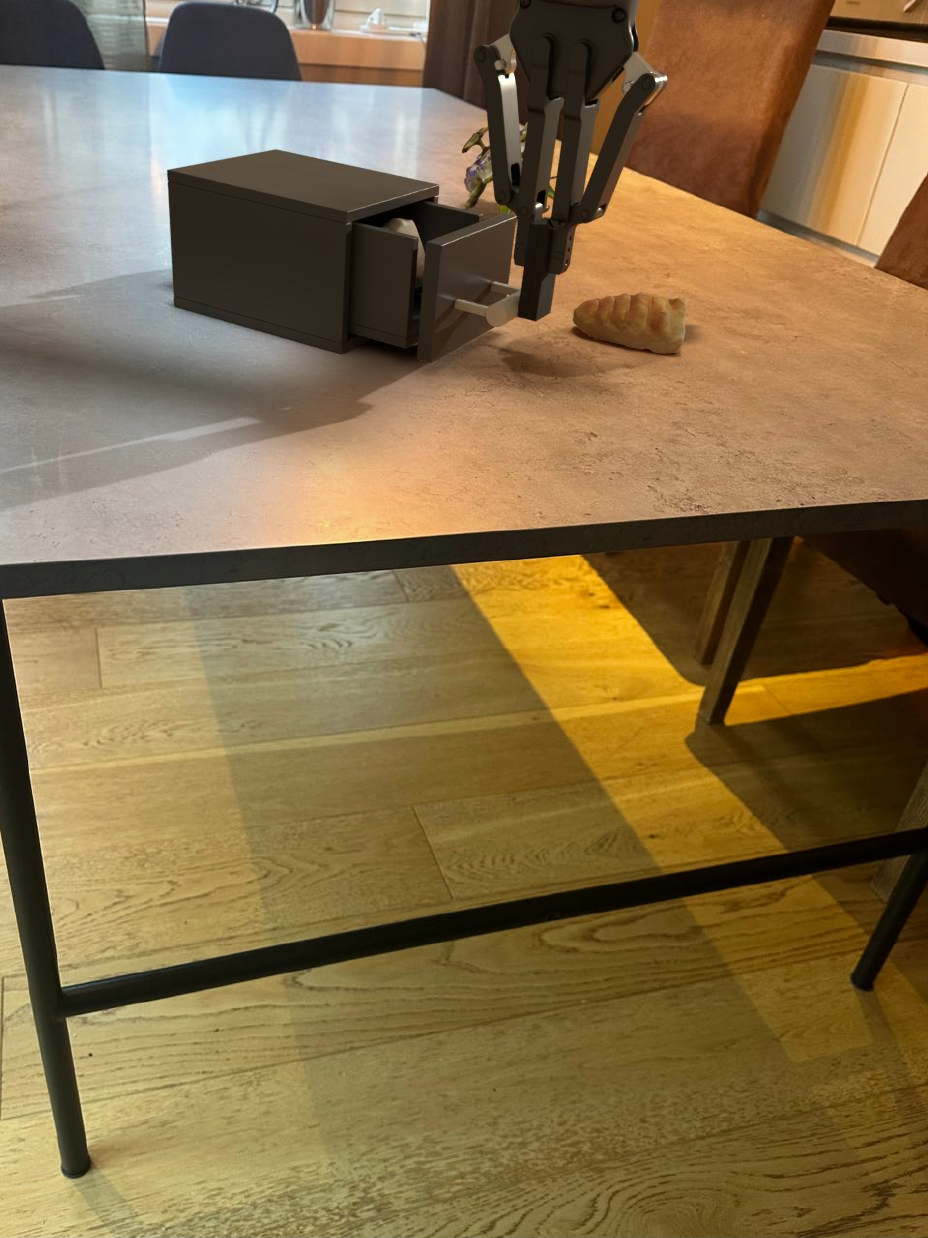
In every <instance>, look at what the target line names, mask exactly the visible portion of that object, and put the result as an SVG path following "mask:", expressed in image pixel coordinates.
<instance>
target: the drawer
mask: <svg viewBox="0 0 928 1238" xmlns="http://www.w3.org/2000/svg"><path fill="white" fill-rule="evenodd" d="M392 218H401V219H405V220H412V221H413V222H414V224H415V226H416V229H417V231H418V234H419V237H420V240H421V243H422V246H423V249H424V252H425V261H424V274H423V286H421V287H418V288H416V289H415V282H416V269H417V255H418V242H419V237H417V236H412V235H408V234H404V233H400V232H395V231H391V230H387V229H383V228H380V227H383V226H384V224H385V223H387V222H388V221H389V220H390V219H392ZM483 219H484V213H482V212H478V211H473V210H470V209H465V208H460V207H455V206H450V205H447V204H441V203H439V202H438V203H434V202H429V201H425V200H421V201H417V202H414V203H411V204H408V205H404V206H401V207H398V208H395V209H392V210H388V211H385V212H382V213H379V214H375V215H372V216H369V217H366V218H362V219H359V220H356V221H353V222H352V237H351V262H350V287H349V312H348V333H352V334H355V335H359V336H362V337H366V338H370V339H371V340H373V341H378V342H380V343H385V344H386V345H387V344H388V345H391V346H395V347H398V348H403V349H407V348H409V347H412V346H413V345H415V344H417V349H416V350H417V353H416V360H417V361H420V362H423V363H427V364H432V363H434V362H436V361H438V360H440V359H441V358H443V357H445V356H447V355H448V354H450V353H453V352H455V350H457V349H459V348H461V347H463V346H464V345H466V344H468V343H470V342H471V341H473V340H476V339H477V338H478V337H481V336H482V335H484V334H486V333H487V332H489V331H491V330H493V329H494V328H500V327H502V326H504V325H506V324H508V323H509V322H512V321H513V320H514V319H517V318H518V317H517V315H518V307H519V299H520V292H521V287H519V286H514V285H510V284H509V282H510V274H511V265H512V259H513V251H514V249H513V248H514V243H515V242H514V241H515V235H516V227H517V216H516V215H513V214H512V215H510V214H505V213H503V214H500V213H499V214H497V215H495V216H493V217H490V218H486V219H484V220H483Z"/></svg>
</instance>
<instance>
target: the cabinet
mask: <svg viewBox="0 0 928 1238" xmlns="http://www.w3.org/2000/svg"><path fill="white" fill-rule="evenodd" d="M166 175H167V176H166V177H167V179H166V180H167V195H168V214H169V215H168V216H169V233H170V235H169V236H170V252H171V254H170V255H171V256H170V257H171V270H172V271H171V273H172V290H173V291H172V292H173V293H172V294H173V307H177V308H181V309H185V310H188V311H192V312H194V313H198V314H202V315H205V316H208V317H211V318H214V319H218V320H222V321H226V322H229V323H233V324H235V325H240V326H243V327H247V328H249V329H254V330H257V331H261V332H264V333H268V334H271V335H275V336H278V337H281V338H285V339H288V340H292V341H295V342H299V343H302V344H306V345H310V346H313V347H316V348H319V349H323V350H326V351H330V352H334V353H337V354H344V353H346V352H348V351H350V350H352V349H354V348H356V347H358V346H361V345H363V344H365V343H367V342H369V341H371V340H372V339H370V338H366V337H362V336H359V335H355V334H352V333H348V312H349V287H350V262H351V237H352V222H353V221H356V220H359V219H362V218H366V217H369V216H372V215H375V214H379V213H382V212H385V211H388V210H392V209H395V208H398V207H401V206H404V205H408V204H411V203H414V202H417V201H421V200H425V201H429V202H434V203H438V204H439V197H440V196H439V194H440V186H441V185H440V184H439V183H434V182H431V181H429V182H428V181H424V180H420V179H416V178H411V177H407V176H403V175H397V174H392V173H387V172H383V171H378V170H373V169H371V168H365V167H361V166H355V165H351V164H347V163H341V162H337V161H332V160H328V159H323V158H318V157H314V156H309V155H305V154H301V153H300V154H299V153H296V152H291V151H285V150H281V149H277V148H275V149H274V148H273V149H269V150H264V151H259V152H254V153H249V154H242V155H239V156H233V157H227V158H221V159H217V160H211V161H206V162H201V163H195V164H190V165H185V166H180V167H175V168H170V169H167V170H166Z"/></svg>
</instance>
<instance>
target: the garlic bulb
mask: <svg viewBox="0 0 928 1238" xmlns="http://www.w3.org/2000/svg"><path fill="white" fill-rule="evenodd" d="M380 228H383V229H387V230H391V231H395V232H400V233H404V234H408V235H412V236H417V237H419V234H418V231H417V229H416V226H415V224H414V222H413V221H412V220H405V219H401V218H392V219H390V220H389V221H388V222H387V223H385V224H384V226H383V227H380ZM424 261H425V252H424V249H423V246H422V243H421V240H420V237H419V242H418V255H417V269H416V282H415V289H416V288H418V287H421V286H423V274H424Z"/></svg>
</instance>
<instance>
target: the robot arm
mask: <svg viewBox="0 0 928 1238" xmlns="http://www.w3.org/2000/svg"><path fill="white" fill-rule="evenodd" d="M639 5H640V0H519V3H518V6H517V9H516V11H515V14H514V15H513V17H512V18H511V21H510V22H509V26H508V33H506V34H505V35H503V36H501V37H500V38H498V39H497V40H495V41H494V42H492V43H490V44H482V45H478V46H477V47H475V49H474V50H473V54H472V55H473V56H472V57H473V61H474V64H475V67H476V69H477V71H478V74H479V76H480V79H481V81H482V85H483V87H484V96H485V97H484V98H485V108H486V120H487V126H488V131H487V132H488V143H489V145H490V155H491V166H492V177H493V181H492V186H493V187H492V188H493V197H494V201H495V203H497V204H498V206H500V205H505V206H506V207H508V208H509V209H511V210H512V211H513V214H515V216H517V218H516V220H517V223H516V231H515V239H514V241H515V242H514V249H513V255H512V259H513V263H514V265H515V266H519V267H522V268H523V270H522V278H521V285H520V288H521V292H520V299H519V307H518V315H517V317H516V318H520V319H523V320H528V321H532V322H538V321H539V320H541V319H543V318H544V317H546V316H548V315H550V314H551V312H552V306H553V298H554V292H555V285H556V278H557V276H560V275H563V274H564V273H566V272H567V271H568V269H569V267H570V266H571V261H572V253H573V248H574V242H575V234H576V230H577V227H578V226H579V225H585V224H589V223H591V222H594V221H596V220H599V219H600V218H603V216H604V215H605V214H606V211H607V210H608V207H609V204H610V202H611V200H612V197H613V194H614V192H615V190H616V187H617V185H618V182H619V180H620V177H621V175H622V173H623V170H624V168H625V165H626V163H627V161H628V157H629V155H630V154H631V153H630V152H631V150H632V148H633V145H634V143H635V140H636V138H637V136H638V133H639V130H640V128H641V126H642V123H643V121H644V118H645V116H646V113H647V111H648V110H649V108H650V107H651V106H652V105H653V103H654V102H655V101H656V100H657V99H658V98H659V96H660V95H661V94H662V93H663V92H664V90H665V89H666V87H667V85H668V76H667V74H666V73H665V72H663V71H661V70H654V68H653V67H652V66H651V65H650V64H649V63H648V62H647V60H646V59H645V58H644V57H643V56H642V55H641V54H640V52H639V49H640V37H639V35H638V31H637V22H636V21H637V14H638V10H639ZM517 60H518V62H519V64H520V67H521V69H522V71H523V74H524V76H525V78H526V81H527V83H528V93H527V100H526V108H527V111H528V117H527V122H528V123H527V122H526V123H527V131H526V139H525V147H524V155H523V163H522V154H521V141H520V131H521V129H520V118H519V117H520V116H519V102H518V91H517V83H516V77H515V71H516V69H517V65H518V63H517ZM623 72H624V73H625V74H624V78H623V81H622V83H621V92H622V94H623V97H622V98H621V100H620V102H619V104H618V105H617V107H616V109H615V112H614V115H613V117H612V120H611V122H610V124H609V127H608V130H607V133H606V135H605V137H604V141H603V142H602V145H601V148H600V150H599V152H598V153H599V154H598V156H597V158H596V160H595V163H594V166H593V169H592V171H591V174H590V176H589V178H588V181H587V184H586V180H587V173H588V166H589V160H590V153H591V148H592V142H593V137H594V136H593V135H594V130H595V129H594V128H595V121H596V118H597V116H598V114H599V112H600V106H601V100H602V96H603V95H604V94H605V93H606V92H607V91H608V90H609V88H610V87H612V85H613V84H614V83H615V81H616V80H617V79H618V78H619V77H620V75H621V74H623ZM561 111H562V115H563V118H564V121H563V126H562V127H563V129H562V136H561V142H560V143H561V144H560V149H559V157H558V163H557V170H556V176H557V177H556V178H555V183H554V198H553V199H552V206H551V205H547V204H548V198H549V197H548V191H549V184H550V183H551V179H550V177H552V171H553V170H552V168H553V163H554V162H553V161H554V155H555V148H556V141H557V134H558V126H559V119H560V113H561ZM550 185H551V184H550ZM585 185H586V187H585ZM550 208H551V214H550V217H545V216H544V217H543V215H544V214H546V213H548V212H549V210H550Z"/></svg>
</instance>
